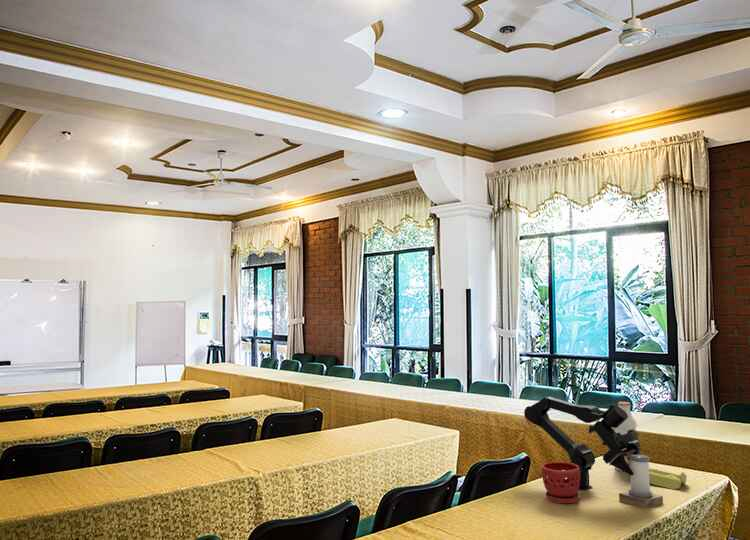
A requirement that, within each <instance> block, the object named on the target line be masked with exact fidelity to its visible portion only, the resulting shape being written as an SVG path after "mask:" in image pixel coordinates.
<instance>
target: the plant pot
mask: <svg viewBox="0 0 750 540" xmlns="http://www.w3.org/2000/svg"><path fill="white" fill-rule="evenodd" d="M541 476H542V483H543V485H544V488H545V490H546V492H545V497H546V498H547V499H548V500H550V501H551V502H554V503H557V504H558V503H559V504H560V505H561V504H574V503H576V502H578V501H579V499H580V498H581V496H580V493H578V492H579V491H580V489H579V486H580V467H579V466H578V465H576V464H573V463H570V462H565V461H551V462H546V463H543V464H542V465H541Z"/></svg>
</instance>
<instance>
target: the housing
mask: <svg viewBox="0 0 750 540" xmlns="http://www.w3.org/2000/svg"><path fill="white" fill-rule="evenodd" d="M629 459H630V468H631V470H632V471H633V473H634V475H632V476H631V475H630V489H628V491H629V494H630V495H632V496H635V497H640V498H650V497H652V493H653V492H652V491H651V490H650V489H651V488H650V485H651V484H650V483H649V468H650V457H649V456H648V455H643V454H640V455H630V456H629Z"/></svg>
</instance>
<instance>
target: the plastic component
mask: <svg viewBox="0 0 750 540" xmlns="http://www.w3.org/2000/svg"><path fill="white" fill-rule="evenodd" d="M629 462H630V461H629ZM687 477H688V476H687V475H686V474H685V472H683V471H681V472H680V475H679V474H675V473H671V472H667V471H662V470H658V469H655V468H654V469H653V468H650V467H649V483H650V485H653V486H657V487H662V488H665V487H666V488H665V489H669V488H670V489H671V490H678V489H680V487H681V486H682V485H686V483H687Z"/></svg>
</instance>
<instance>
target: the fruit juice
mask: <svg viewBox="0 0 750 540" xmlns="http://www.w3.org/2000/svg"><path fill="white" fill-rule="evenodd" d="M617 406H618V407H620V408H621V409H623V410H624V411H625V412H626V413H627V415H628V418H627V419H626V420H625V421H624V422H623V423H622V424H621V425H620V426H619V427H617V428H614V431H615V432H616V433H621V435H624V434H627V431H628V430H631V429H634V430H635V431H636V432H637V425H638V424H637V421H636V419H635V418H634V417H633V415H632V411H631V402H627V401H618V402H617ZM633 442H634V441H633ZM635 442H639V440H635ZM629 443H631V442H629ZM627 458H628V457H626V456H624V459H625V461H626V462H627V464H628V465H629V467H630V462H629V460H628V459H627ZM614 469H615V470H617V471H619V470H620V469H618V468H616V467H614ZM620 471H621V472H623V471H622V470H620ZM620 471H619V472H620Z"/></svg>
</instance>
